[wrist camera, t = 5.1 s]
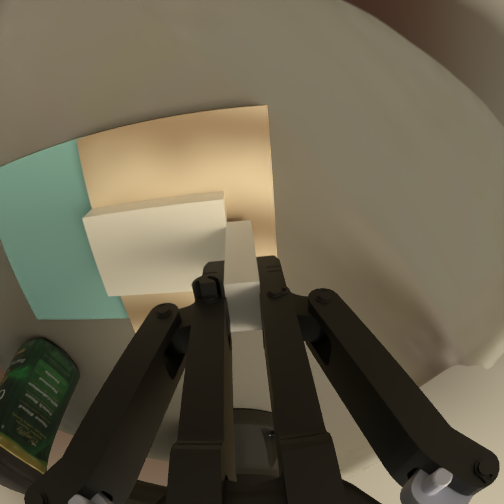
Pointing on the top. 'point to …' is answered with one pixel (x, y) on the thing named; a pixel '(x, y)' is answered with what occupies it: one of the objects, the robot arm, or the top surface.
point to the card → (157, 242)
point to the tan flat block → (186, 174)
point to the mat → (52, 236)
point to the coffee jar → (32, 410)
